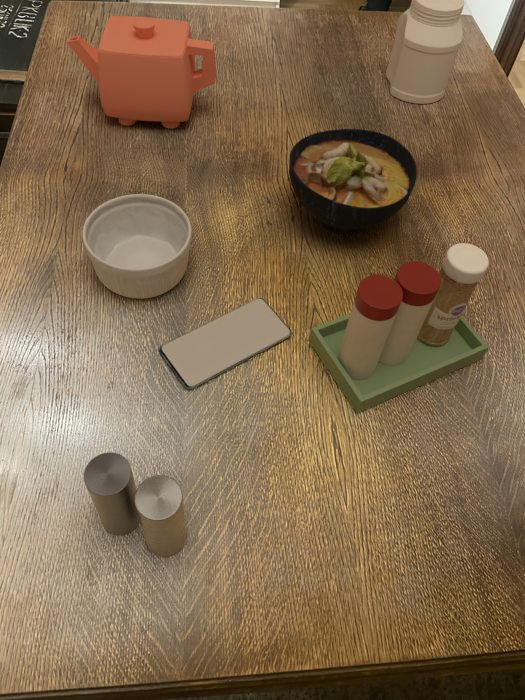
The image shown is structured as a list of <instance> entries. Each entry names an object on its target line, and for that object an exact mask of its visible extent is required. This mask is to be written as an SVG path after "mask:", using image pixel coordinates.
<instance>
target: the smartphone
mask: <svg viewBox="0 0 525 700" xmlns="http://www.w3.org/2000/svg"><path fill="white" fill-rule="evenodd" d="M291 336H292V329H291V328H290V327H289V326H288V325H287V324H286V323H285V321H284V320H283V319H282V318H281V317H280V316H279V314H278V313H277V312H276V311H275V310H274V309H273V308H272V307H271V305H270V304H269V303H268V302H267V301H266V300H265V299H264V298H262V297H256V298H254V299H253V300H250V301H248V302H246V303H244V304H242V305H240V306H238V307H236V308H234V309H232V310H230V311H228V312H226V313H224V314H222V315H220V316H218V317H216V318H214V319H212V320H210V321H208V322H206V323H204V324H202V325H200V326H198V327H196V328H193V329H192V330H190V331H188V332H186V333H184V334H181V335H180V336H178V337H175V338H173V339H172V340H169V341H167V342H165V343H163V344H161V345H160V346H159V348H158V351H159V353H160V355H161V357H162V358H163V359H164V360H165V362H166V364H167V365H168V367H169V368H171V370H172V371H173V373H174V375H175V376H176V377H177V378H178V380H179V382H180V383H181V384H182V386H183V387H184V388H185V389H187V390H192V389H195V388H197V387H199V386H201V385H202V384H204V383H206V382H208V381H210V380H211V379H214V378H216V377H217V376H219V375H221V374H222V373H224V372H226V371H228V370H230V369H232V368H234V367H236V366H238V365H240V364H242V363H243V362H246V361H247V360H249V359H251V358H253V357H254V356H256V355H258V354H260V353H262V352H264V351H266V350H267V349H269V348H272V347H273V346H276V345H277V344H280V342H282V341H284V340H286V339H288V338H290V337H291Z"/></svg>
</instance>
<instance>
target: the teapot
mask: <svg viewBox="0 0 525 700" xmlns="http://www.w3.org/2000/svg"><path fill="white" fill-rule="evenodd" d="M67 45H68V46H69V47H70V49H71V50H72V51H73V53H74V54H75V55H76V56H77V58H78V59H79V60H80V62H81V63H82V64H83V66H84V67H85V68H86V69H87V71H88V72H89V73H90V74H91V76H92V77H93V78H94V80H95V81H96V82H97V84H98V91H99V98H100V104H101V107H102V110H103V112H104V114H105V116H107V117H111V118H118V123H119V124H120V125H122V126H132V125H134V124H135V123H137V121H142V122H161V125H162V126H163V128H165V129H176V128H178V127H179V126H180V123H182V122H183V123H184V122H187V121H188V120H189V118H190V115H191V111H192V106H193V101H194V95H195V92H198V91H200V90H203V89H205V88H207V87H210V86H212V85H215V84H216V80H217V67H216V53H215V42H214V41H208V40H202V39H196V38H193V37H192V31H191V27H190V23H189V22H187V21H186V20H185V21H184V20H179V19H171V18H170V19H169V18H160V17H149V16H133V15H132V16H131V15H111V16H110V17H109V18H108V20H107V22H106V25H105V27H104V31H103V33H102V35H101V38H100V41H99V45H98V48H97V49H96V48H95V47H94V46H92V45H91V44H90V43H88V42H87V41H86V40H85V39H84V38H82V36H81V35H75V36H68V38H67ZM196 56H202V68H199V69H197V68H196ZM196 69H197V70H196Z"/></svg>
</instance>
